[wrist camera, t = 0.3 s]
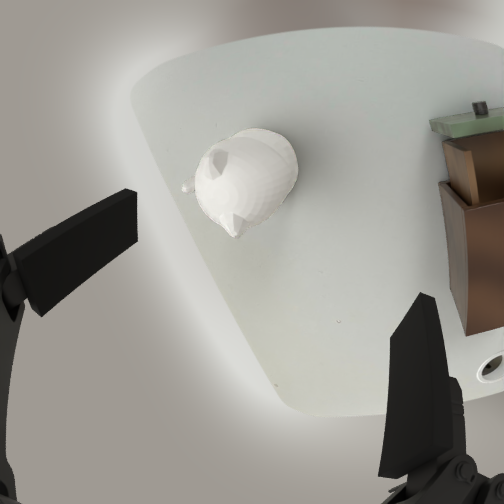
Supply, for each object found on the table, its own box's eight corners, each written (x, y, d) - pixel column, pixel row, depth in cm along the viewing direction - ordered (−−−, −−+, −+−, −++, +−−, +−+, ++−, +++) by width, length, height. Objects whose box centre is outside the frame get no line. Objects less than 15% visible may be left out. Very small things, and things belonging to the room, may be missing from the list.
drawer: (425, 109, 24) (446, 110, 17) (500, 96, 19) (534, 98, 12) (451, 234, 29) (470, 267, 22) (518, 218, 24) (547, 246, 17)
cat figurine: (317, 191, 33) (288, 248, 21) (224, 207, 39) (157, 262, 26) (298, 116, 30) (254, 123, 18) (203, 142, 35) (122, 170, 23)
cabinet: (437, 182, 28) (463, 210, 20) (515, 166, 22) (556, 189, 14) (449, 288, 32) (465, 336, 24) (518, 270, 27) (544, 313, 19)
